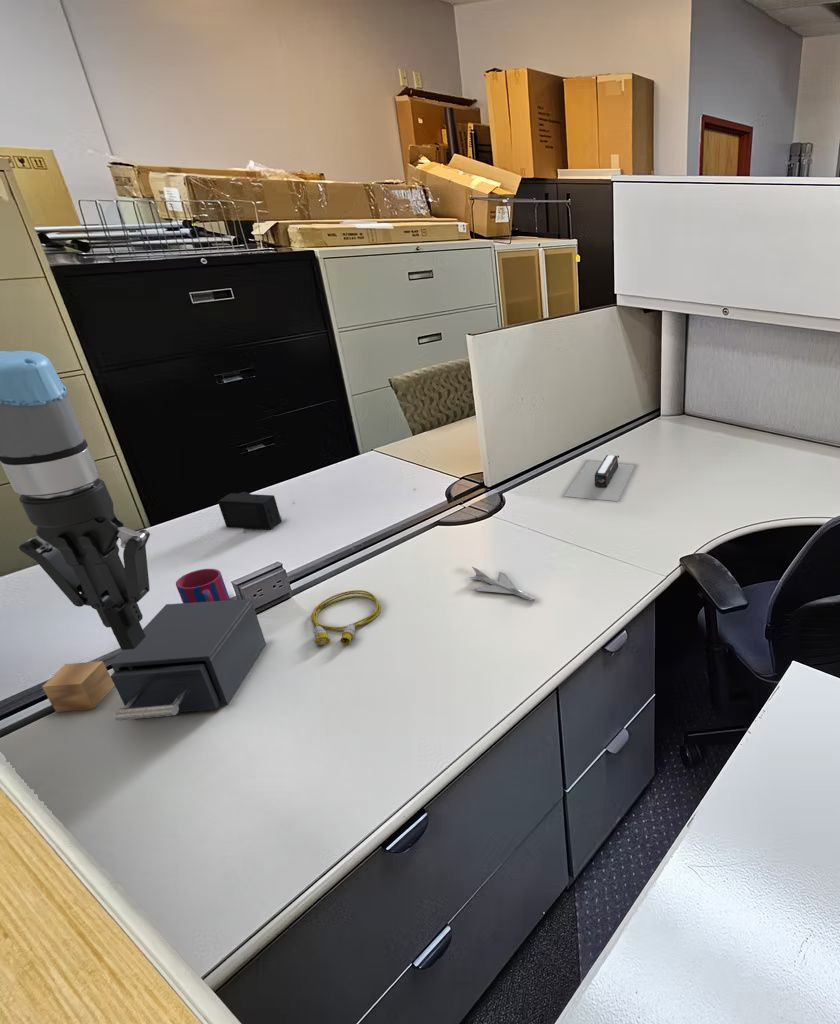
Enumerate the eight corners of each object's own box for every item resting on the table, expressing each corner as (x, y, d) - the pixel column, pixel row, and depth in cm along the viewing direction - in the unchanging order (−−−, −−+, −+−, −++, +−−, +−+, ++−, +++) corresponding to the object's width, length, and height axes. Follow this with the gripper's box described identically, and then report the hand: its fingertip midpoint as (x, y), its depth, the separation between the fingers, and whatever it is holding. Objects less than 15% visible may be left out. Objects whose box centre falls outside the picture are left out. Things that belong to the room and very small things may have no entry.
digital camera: (285, 519, 147) (277, 492, 144) (271, 530, 142) (263, 502, 139) (242, 517, 147) (233, 490, 144) (226, 527, 142) (217, 500, 139)
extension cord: (281, 641, 108) (278, 632, 107) (339, 591, 122) (337, 583, 121) (345, 651, 107) (342, 642, 106) (396, 599, 121) (395, 591, 120)
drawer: (199, 734, 88) (182, 693, 85) (108, 743, 86) (86, 701, 83) (254, 650, 105) (241, 613, 101) (178, 656, 102) (162, 618, 99)
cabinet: (227, 704, 95) (208, 656, 90) (134, 713, 93) (110, 663, 88) (266, 644, 108) (251, 598, 103) (185, 650, 105) (166, 604, 101)
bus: (634, 465, 186) (634, 452, 184) (617, 501, 164) (617, 486, 162) (587, 461, 187) (587, 448, 185) (564, 496, 165) (563, 481, 163)
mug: (228, 594, 120) (218, 564, 117) (236, 619, 113) (225, 589, 110) (186, 606, 116) (174, 575, 113) (190, 633, 109) (178, 601, 106)
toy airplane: (521, 612, 119) (520, 602, 118) (445, 578, 128) (444, 569, 127) (548, 593, 125) (547, 583, 124) (473, 562, 134) (472, 553, 133)
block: (55, 712, 92) (41, 686, 90) (78, 688, 96) (65, 663, 94) (94, 708, 93) (81, 683, 91) (115, 685, 97) (102, 661, 95)
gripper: (141, 471, 78) (201, 622, 88) (20, 475, 75) (96, 630, 86) (104, 497, 71) (173, 656, 82) (-31, 502, 69) (59, 666, 79)
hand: (133, 642), depth 84 cm, fingers closed
